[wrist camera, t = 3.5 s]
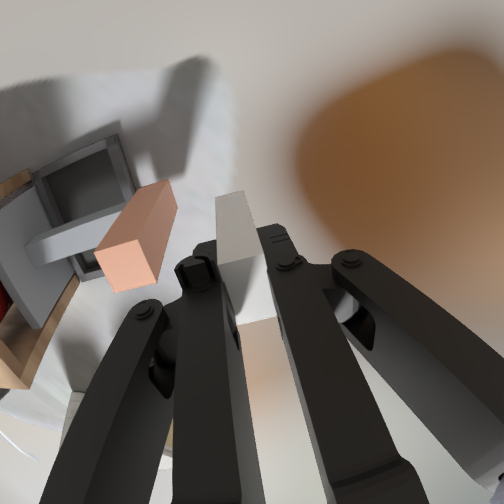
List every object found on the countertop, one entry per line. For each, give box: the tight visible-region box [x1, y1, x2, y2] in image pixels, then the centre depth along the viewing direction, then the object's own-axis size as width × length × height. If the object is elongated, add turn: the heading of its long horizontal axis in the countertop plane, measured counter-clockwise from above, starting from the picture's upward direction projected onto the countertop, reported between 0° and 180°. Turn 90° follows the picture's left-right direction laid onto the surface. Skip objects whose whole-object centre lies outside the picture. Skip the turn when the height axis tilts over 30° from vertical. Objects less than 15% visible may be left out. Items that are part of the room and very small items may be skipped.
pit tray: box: [32, 134, 136, 282], centre depth 23 cm, size 9×12×1 cm
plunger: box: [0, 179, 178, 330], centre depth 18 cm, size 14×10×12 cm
